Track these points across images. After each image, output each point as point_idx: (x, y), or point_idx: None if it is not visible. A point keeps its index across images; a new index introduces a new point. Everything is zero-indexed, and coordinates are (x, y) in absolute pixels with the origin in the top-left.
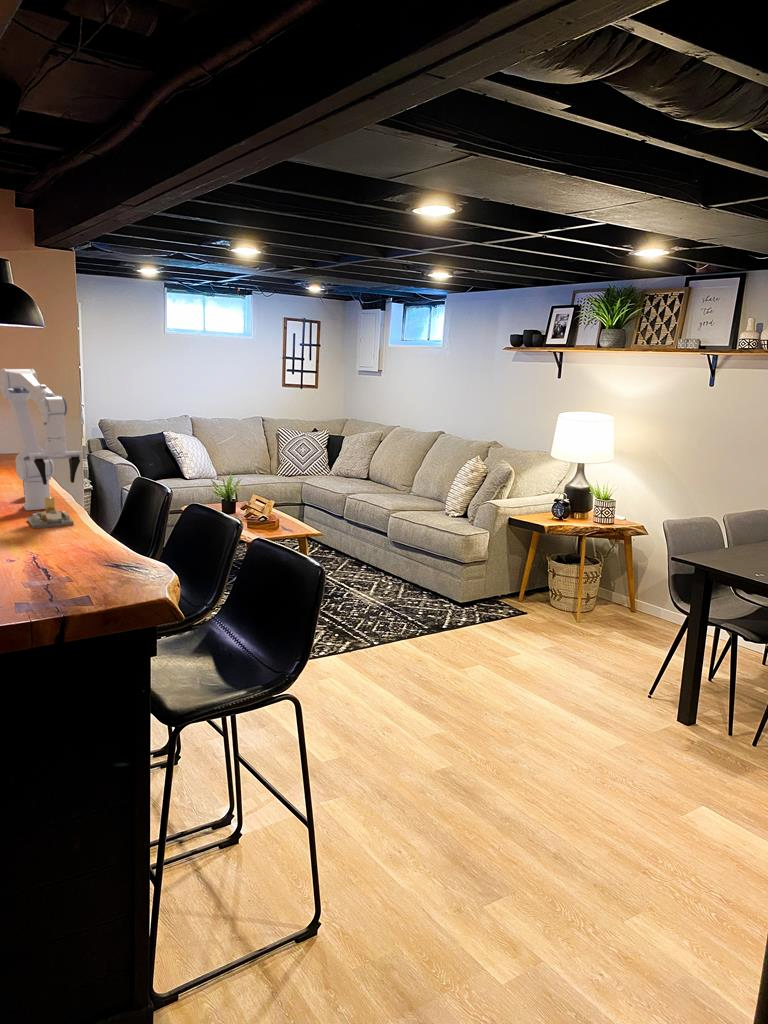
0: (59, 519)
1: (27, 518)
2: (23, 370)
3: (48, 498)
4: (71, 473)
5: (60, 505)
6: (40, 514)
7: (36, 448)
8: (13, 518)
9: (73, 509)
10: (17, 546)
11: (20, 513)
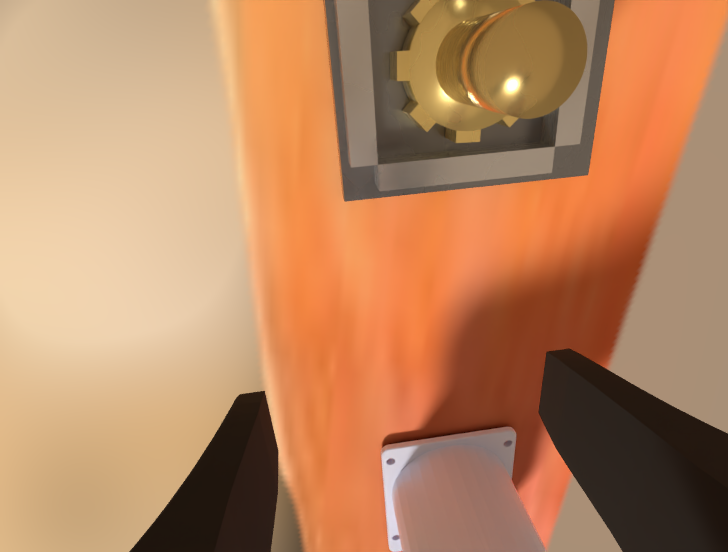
0: None
1: (585, 163)
2: None
3: (555, 18)
4: (248, 508)
5: (342, 506)
6: (521, 147)
7: None
8: (617, 271)
9: (282, 404)
10: None
11: None
